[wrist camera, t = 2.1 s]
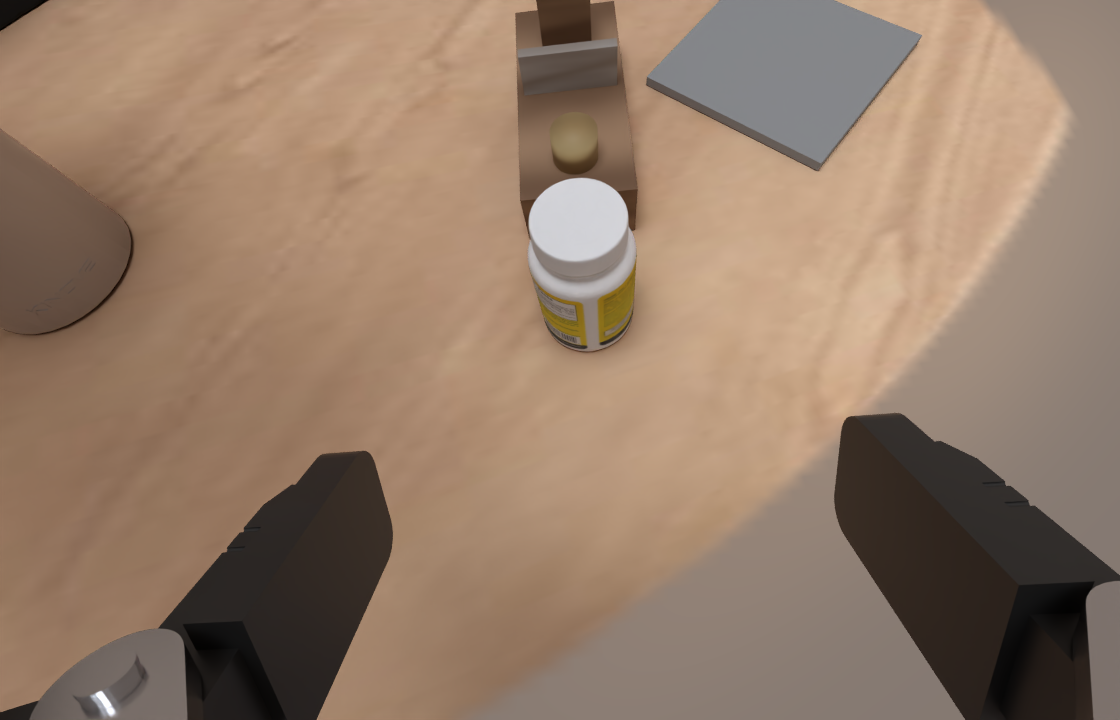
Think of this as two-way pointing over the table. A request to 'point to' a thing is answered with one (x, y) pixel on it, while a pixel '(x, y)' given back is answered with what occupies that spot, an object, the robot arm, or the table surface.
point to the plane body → (572, 101)
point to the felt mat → (785, 70)
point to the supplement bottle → (583, 262)
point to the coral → (15, 9)
